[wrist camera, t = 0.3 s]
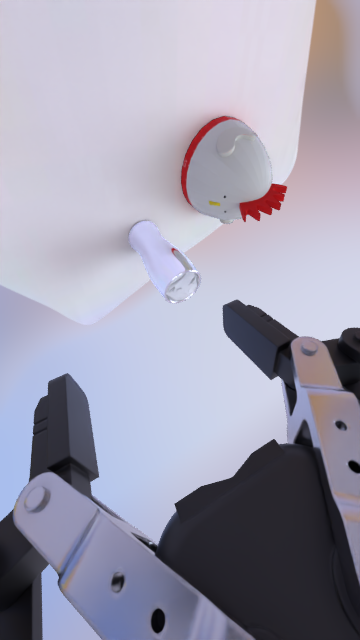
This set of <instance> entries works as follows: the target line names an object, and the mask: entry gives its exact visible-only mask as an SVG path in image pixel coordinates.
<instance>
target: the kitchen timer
mask: <svg viewBox="0 0 360 640" xmlns="http://www.w3.org/2000/svg"><path fill="white" fill-rule="evenodd" d="M181 184H182V189H183V194H184V196H185V198H186V199H187V201H188V203H189V204H191V205H192V206H193V207H194V208H195V209H196V210H198V211H199V212H200V213H202V214H204V215H207V216H211V217H214V218H218V219H220V221H221V222H222V223H224V224H230V223H232V222H233V221H234V220H235V219H241V218H243V220H244V222H246V217H247V216H249V215H250V216H252V217H253V218H255V219H256V220H258V221H260V213H259V211H261V212H264V213H266V214H269V215H271V214H272V208H274V209H277V210H280V207H281V203H280V202H279V201H283V200H284V196H285V195H284V194H282V193H286V189H287V187H286V186H283V185H279V184H272V167H271V162H270V158H269V156H268V153H267V151H266V149H265V147H264V145H263V143H262V142H261V140H260V139H259V138H258V136H257V134H256V133H255V132H254V131H253V130H252V129H251V128H249V127H248V126H247V125H246V124H244V123H243V122H242V121H240V120H238V119H236V118H232V117H226V116H223V117H220V118H217V119H214V120H212V121H211V122H209V123H208V124H207V125H205V126H204V127H203V128H202V129H201V130H200V131H199V133H198V134H197V135H196V136H195V138H194V139H193V140H192V142H191V144H190V146H189V148H188V151H187V153H186V155H185V159H184V163H183V167H182V176H181ZM258 210H259V211H258Z"/></svg>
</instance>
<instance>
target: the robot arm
mask: <svg viewBox="0 0 360 640" xmlns="http://www.w3.org/2000/svg"><path fill="white" fill-rule="evenodd" d="M223 326H224V331H225V333H226V335H227V336H228V337H229V338H230V339H231V340H232V341H233V342H234V343H235V344H236V345H237V346H238V347H239V348H240V349H241V350H242V351H243V352H244V353H245V354H246V355H247V356H248V357H249V358H250V359H251V360H252V361H253V362H254V363H255V364H256V365H257V366H258V367H259V368H260V369H261V370H262V371H263V373H264V374H266V376H268V378H269V379H270V380H272V379H274V378H275V377H277V376H279V377H280V378H281V379H282V389H283V396H284V402H285V407H286V414H287V440H288V443H286V444H278V443H277V442H276V441H275V439H273V440H271V441H270V442H268V443H267V444H265V445H264V446H262V447H261V448H259V449H258V450H256V451H255V452H253V453H252V454H251V455H250V456H249V458H248V459H247V460H246V461H245V463H244V464H243V465H242V467H241V468H240V469H239V470H238V471H237V473H236V474H235V475H234V476H233V477H232V478H230V479H226V480H223V481H219V482H215V483H212V484H208V485H204V486H201V487H200V488H198V489H197V490H195V491H193V492H192V493H191V494H189V495H187V496H186V497H184V498H183V499H181V500H180V501H178V502H177V503H175V507H176V510H177V511H176V513H175V514H174V515H173V516H172V517H171V519H170V520H169V522H168V524H167V525H166V527H165V529H164V531H163V533H162V536H161V538H160V541H159V544H157V543H156V542H154V541H153V540H152V539H150V538H149V537H148V536H146V535H145V534H144V533H142V532H141V531H140V530H138V529H137V528H135V527H134V526H132V525H131V524H129V523H128V522H127V521H125V520H124V519H123V518H121V517H120V516H119V515H118V514H116V513H115V512H114V511H112V510H111V509H110V508H109V507H107V506H106V505H105V504H103V503H102V502H101V501H100V500H98V499H97V498H96V497H94V496H93V495H92V494H91V485H90V482H91V481H93V480H94V479H96V478H98V477H99V473H98V466H97V460H96V453H95V447H94V439H93V432H92V425H91V418H90V411H89V405H88V400H87V398H86V395H85V393H84V392H83V391H82V389H81V388H80V387H79V385H78V384H77V383H76V382H75V381H74V379H73V378H72V377H71V376H70V375H69V374H68V373H67V374H64V375H62V376H60V377H58V378H55V379H53V380H51V381H49V383H48V395H47V396H45V397H42V398H41V399H40V401H39V403H38V405H37V407H36V409H35V414H34V427H33V434H34V436H33V441H32V454H31V468H30V478H29V483H28V484H27V485H26V486H25V487H24V489H23V490H22V491H21V493H20V495H19V497H18V499H17V501H16V504H15V506H14V509H13V510H12V511H11V512H10V513H9V514H8V515H7V516H6V517H5V518H4V519H3V520H2V521H1V522H0V640H42V591H41V590H42V585H41V572H42V571H43V570H44V569H45V568H46V567H47V566H48V565H49V564H50V565H51V566H52V567H53V569H54V570H55V571H56V572H57V574H58V576H59V579H58V586H59V588H60V590H61V592H62V593H63V595H64V596H65V597H66V598H67V600H68V601H69V602H70V603H71V604H72V605H73V606H74V608H75V609H76V610H77V611H78V612H79V613H80V615H81V616H82V617H83V618H84V619H85V620H86V621H87V623H88V624H89V625H90V626H91V627H92V628H93V630H94V631H95V632H96V633H97V634H98V635H99V636H100V638H101V639H102V640H360V328H348V329H346V330H344V331H343V332H342V335H341V337H340V338H339V339H332V340H327V341H319V340H318V339H315V338H312V337H299V336H297V335H296V334H294V333H293V332H291V331H290V330H289V329H287V328H285V327H284V326H283V325H282V324H280V323H279V322H277V321H276V320H273V318H272V317H270V316H269V315H267V314H266V313H265V312H263V311H262V310H261V309H259V308H257V307H254V306H251V305H247V306H246V305H244V304H243V303H242V302H240V301H239V300H234V301H232V302H230V303H228V304H225V305H224V306H223Z"/></svg>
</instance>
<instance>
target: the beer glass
mask: <svg viewBox="0 0 360 640" xmlns="http://www.w3.org/2000/svg"><path fill="white" fill-rule="evenodd" d="M128 240H129V244H130V246H131V247H132V248H133V249H134V250H135V251H136V252H137V253H138V254H139V255H140V256H141V259H142V261H143V264H144V266H145V269H146V271H147V273H148V276H149V278H150V279H151V281H152V282H153V284H154V285H155V287H156V288H157V289H158V290H159V292H160V293H161V294H162V295H163V296H164V298H165V299H166V301H168V302H169V303H179V302H182V301H185V300H186V299H188V298H189V297H191V296H192V295H193V294H194V293H195V292H196V291H197V289H198V287H199V286H200V283H201V275H200V274H199V273H198V271H197V270H196V268H195V267H194V265H193V264H192V263H191V261H190V260H189V259H188V258H187V256H186V255H185V254H184V253H183V252H182V251H181V250H179V249H178V248H177V247H176V246H174V245H173V244H172V243H170V242H169V241H167V240H166V239H165V238H164V237H163V236H162V235H161V233H160V231H159V229H158V227H157V226H156V225H155V224H154V223H153V222H151V221H141V222H139V223H137V224H135V225H134V226H133V227H132V229H131V230H130V233H129V237H128Z"/></svg>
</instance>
